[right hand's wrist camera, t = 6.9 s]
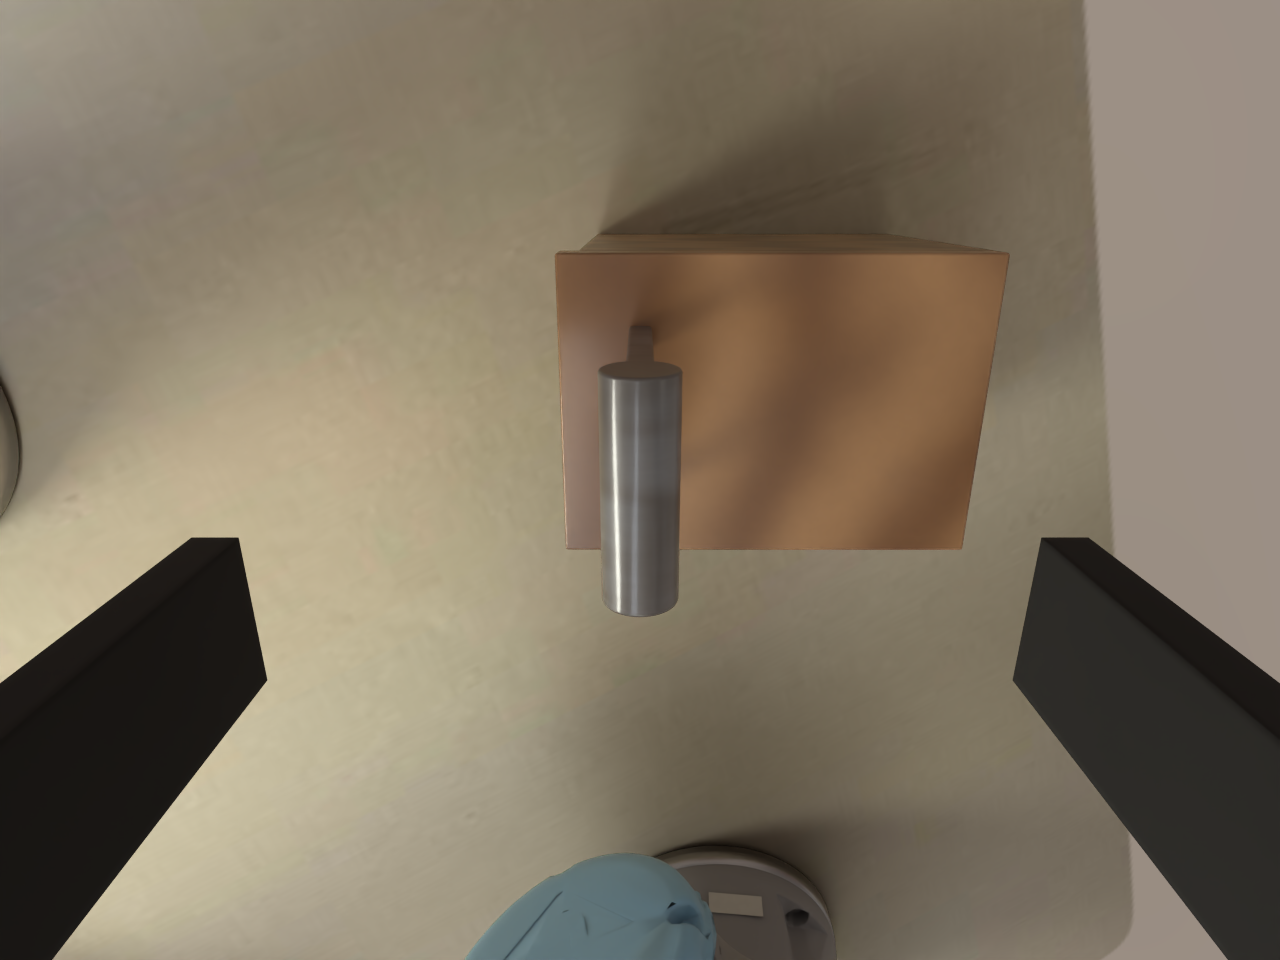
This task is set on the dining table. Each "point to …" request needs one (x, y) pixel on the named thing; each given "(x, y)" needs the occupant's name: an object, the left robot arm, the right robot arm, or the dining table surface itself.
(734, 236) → the wooden box
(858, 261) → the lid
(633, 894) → the left robot arm
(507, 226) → the dining table surface
